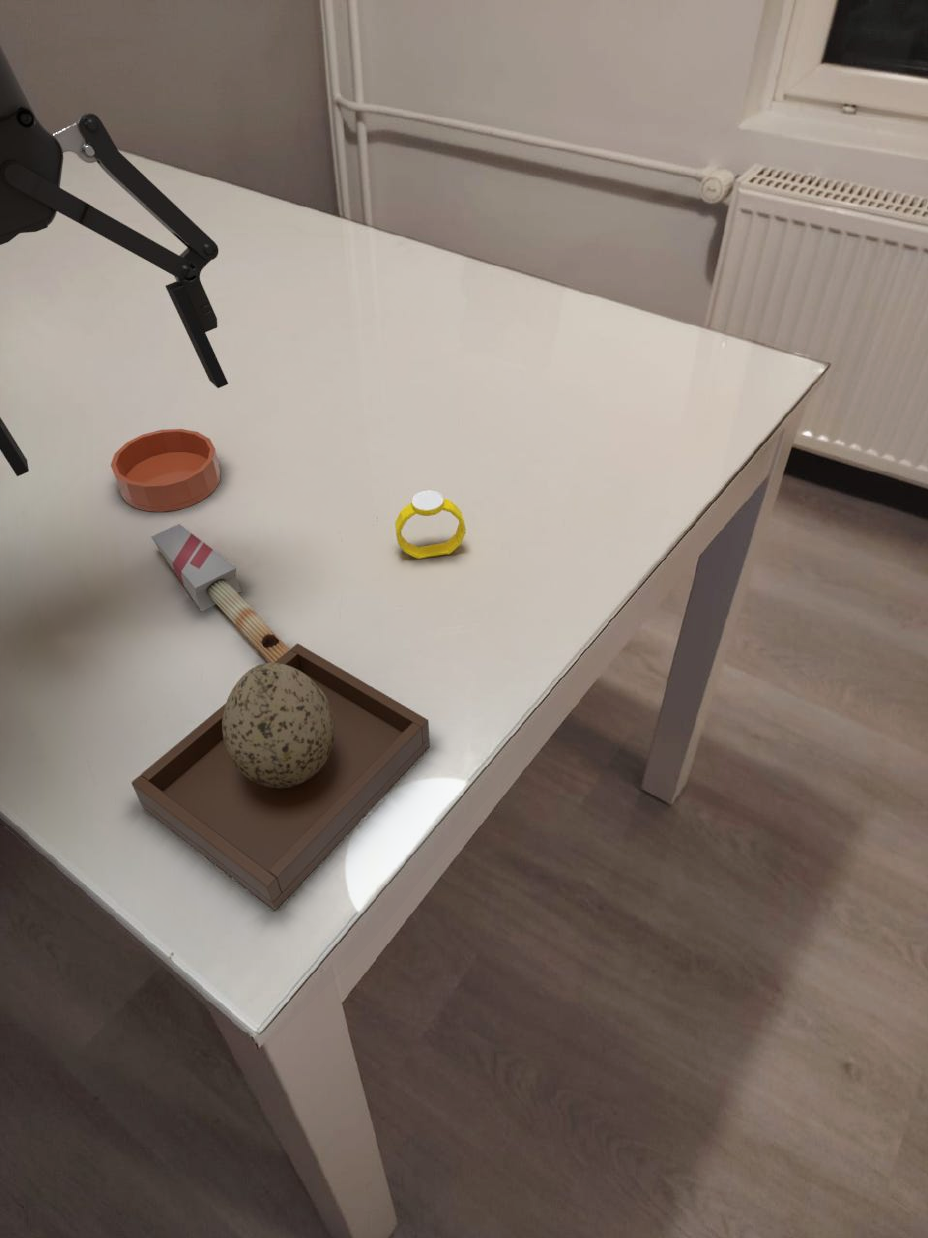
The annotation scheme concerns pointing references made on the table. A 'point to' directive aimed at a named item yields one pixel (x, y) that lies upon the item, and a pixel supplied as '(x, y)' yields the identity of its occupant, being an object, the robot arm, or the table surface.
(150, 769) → the tray
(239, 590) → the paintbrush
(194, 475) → the shallow dish
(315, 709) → the decorative egg
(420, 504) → the watch
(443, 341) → the table surface
